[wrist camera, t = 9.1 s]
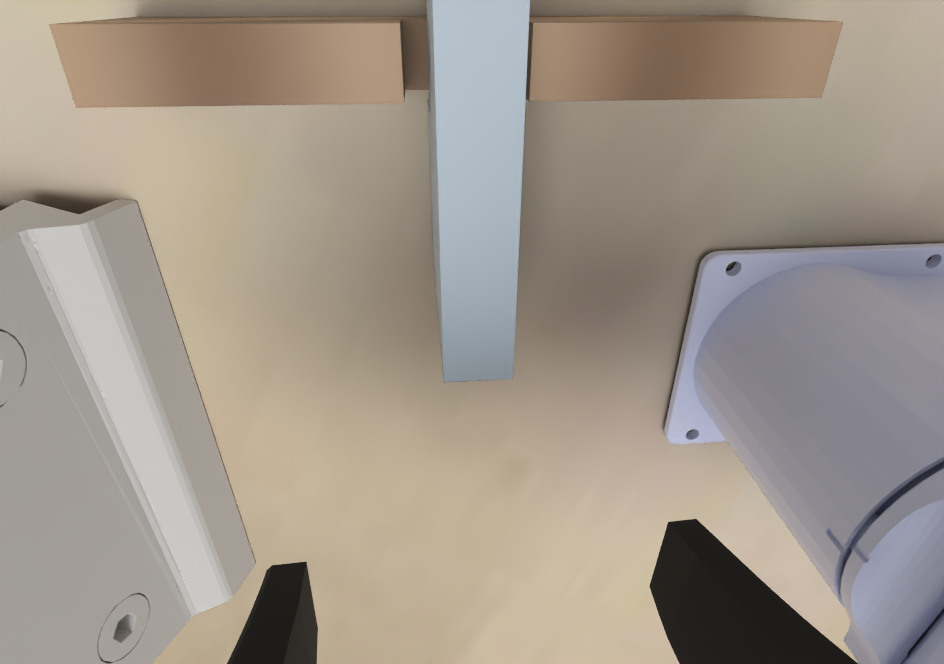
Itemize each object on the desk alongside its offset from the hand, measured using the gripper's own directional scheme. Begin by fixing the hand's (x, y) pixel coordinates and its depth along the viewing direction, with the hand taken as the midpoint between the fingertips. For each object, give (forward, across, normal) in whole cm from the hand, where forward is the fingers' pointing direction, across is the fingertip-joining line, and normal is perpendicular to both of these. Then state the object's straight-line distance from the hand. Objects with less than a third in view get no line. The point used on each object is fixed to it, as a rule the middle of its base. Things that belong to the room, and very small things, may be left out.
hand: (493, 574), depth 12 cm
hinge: (+11, +12, +4) cm, 17 cm away
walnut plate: (+10, 0, -9) cm, 13 cm away
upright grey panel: (+10, 0, -9) cm, 13 cm away
